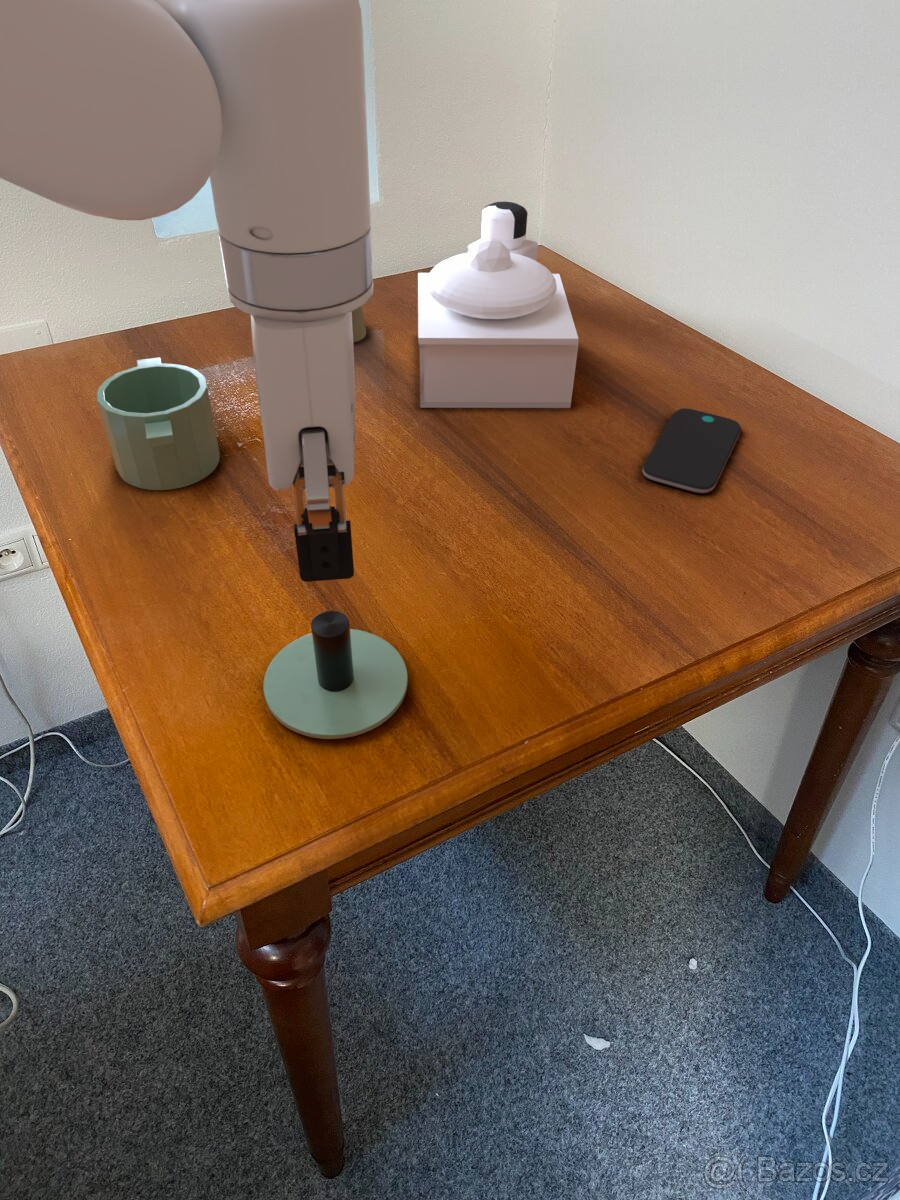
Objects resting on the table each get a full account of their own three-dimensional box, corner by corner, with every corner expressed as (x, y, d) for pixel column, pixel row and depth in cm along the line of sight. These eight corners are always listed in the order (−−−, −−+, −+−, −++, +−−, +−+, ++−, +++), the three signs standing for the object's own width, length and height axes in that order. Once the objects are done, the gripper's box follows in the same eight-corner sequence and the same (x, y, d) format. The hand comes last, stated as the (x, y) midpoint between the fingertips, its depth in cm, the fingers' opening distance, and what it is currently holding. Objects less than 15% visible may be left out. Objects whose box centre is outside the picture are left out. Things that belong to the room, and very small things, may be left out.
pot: (121, 513, 85) (98, 438, 79) (114, 430, 96) (94, 358, 90) (229, 495, 88) (215, 421, 82) (211, 416, 98) (197, 346, 93)
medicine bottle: (493, 279, 128) (497, 193, 120) (534, 292, 125) (542, 204, 117) (464, 295, 123) (467, 207, 115) (507, 309, 120) (513, 219, 112)
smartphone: (744, 421, 98) (712, 491, 88) (742, 428, 98) (710, 498, 89) (677, 404, 100) (638, 470, 90) (676, 411, 101) (637, 477, 91)
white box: (553, 338, 114) (566, 212, 103) (570, 410, 101) (588, 274, 90) (418, 338, 114) (417, 211, 103) (418, 410, 100) (417, 273, 90)
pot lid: (278, 759, 64) (266, 695, 59) (255, 653, 72) (242, 589, 67) (425, 724, 67) (425, 660, 62) (387, 626, 74) (384, 562, 70)
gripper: (231, 206, 51) (267, 456, 62) (214, 344, 38) (263, 625, 50) (361, 202, 51) (372, 450, 63) (386, 336, 39) (395, 615, 50)
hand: (324, 527), depth 56 cm, fingers open, 9 cm apart
